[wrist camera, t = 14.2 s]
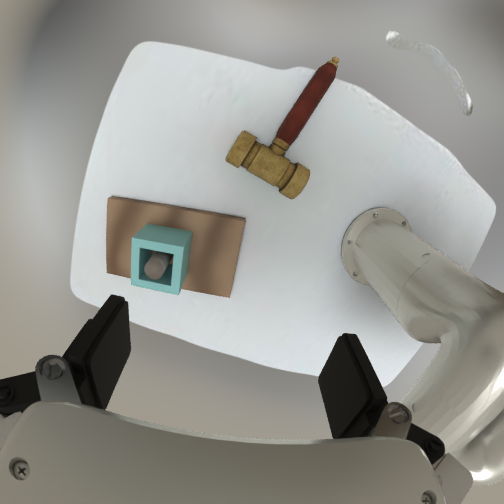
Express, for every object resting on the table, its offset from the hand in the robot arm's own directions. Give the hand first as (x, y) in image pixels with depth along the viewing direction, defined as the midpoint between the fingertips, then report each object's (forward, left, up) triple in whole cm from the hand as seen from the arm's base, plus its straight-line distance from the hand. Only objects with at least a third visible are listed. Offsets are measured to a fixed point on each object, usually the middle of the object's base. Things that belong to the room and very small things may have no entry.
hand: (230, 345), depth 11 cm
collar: (+9, +8, -27) cm, 29 cm away
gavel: (-5, -14, -29) cm, 32 cm away
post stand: (+9, +8, -28) cm, 31 cm away
